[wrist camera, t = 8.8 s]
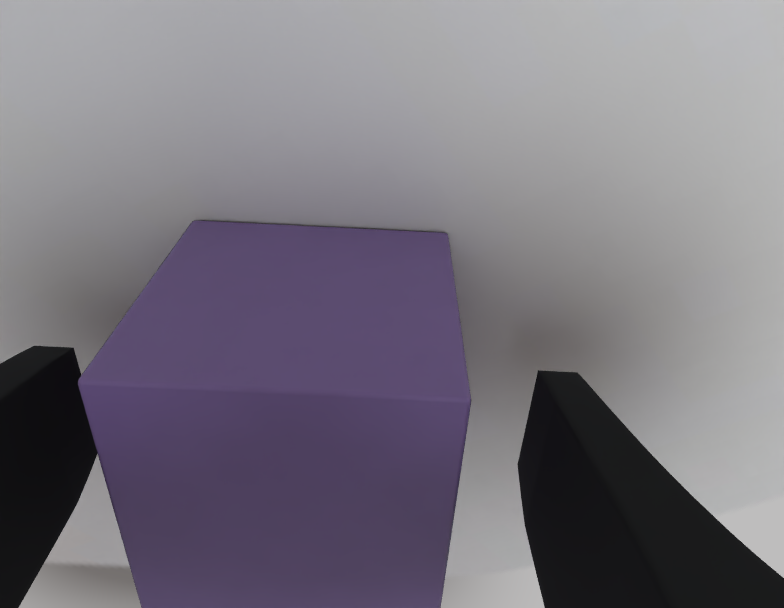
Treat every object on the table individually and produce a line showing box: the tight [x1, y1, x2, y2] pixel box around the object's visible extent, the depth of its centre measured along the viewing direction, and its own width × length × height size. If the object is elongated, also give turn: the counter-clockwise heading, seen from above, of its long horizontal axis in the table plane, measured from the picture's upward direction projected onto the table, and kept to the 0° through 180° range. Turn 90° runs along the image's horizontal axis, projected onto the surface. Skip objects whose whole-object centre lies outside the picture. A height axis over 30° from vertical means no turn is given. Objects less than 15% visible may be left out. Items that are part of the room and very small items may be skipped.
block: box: [78, 221, 471, 608], centre depth 10 cm, size 4×4×4 cm
